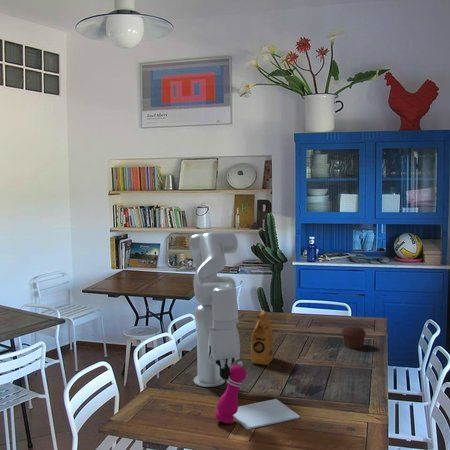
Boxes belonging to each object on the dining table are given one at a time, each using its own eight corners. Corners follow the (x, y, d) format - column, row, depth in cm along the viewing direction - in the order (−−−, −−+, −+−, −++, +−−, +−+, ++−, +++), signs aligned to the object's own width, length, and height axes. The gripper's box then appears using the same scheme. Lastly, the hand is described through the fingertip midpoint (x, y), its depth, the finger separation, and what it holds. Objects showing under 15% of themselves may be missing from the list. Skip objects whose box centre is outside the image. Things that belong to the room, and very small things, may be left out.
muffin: (363, 342, 261) (364, 323, 260) (367, 349, 250) (367, 329, 249) (339, 342, 262) (339, 322, 262) (342, 349, 251) (342, 328, 251)
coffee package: (247, 364, 232) (247, 315, 231) (254, 355, 244) (254, 308, 242) (269, 366, 229) (269, 316, 228) (275, 357, 241) (275, 310, 239)
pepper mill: (233, 419, 179) (250, 362, 180) (234, 426, 172) (252, 367, 173) (212, 413, 179) (230, 356, 180) (213, 419, 172) (231, 360, 173)
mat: (226, 410, 185) (226, 408, 185) (276, 400, 193) (276, 398, 193) (247, 429, 170) (247, 427, 170) (299, 417, 178) (299, 416, 178)
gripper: (239, 319, 180) (240, 371, 181) (198, 324, 174) (199, 378, 175) (249, 324, 173) (249, 378, 174) (207, 329, 167) (208, 386, 168)
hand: (224, 378), depth 175 cm, fingers closed
